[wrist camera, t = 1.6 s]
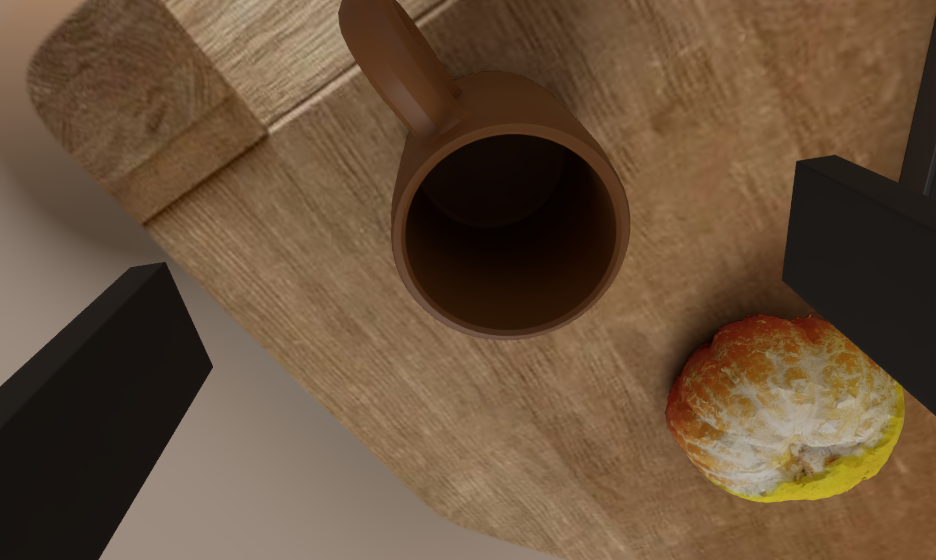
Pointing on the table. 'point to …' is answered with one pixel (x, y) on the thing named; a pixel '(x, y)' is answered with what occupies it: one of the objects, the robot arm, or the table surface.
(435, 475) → the table surface
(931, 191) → the scale
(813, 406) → the fruit
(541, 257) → the mug
